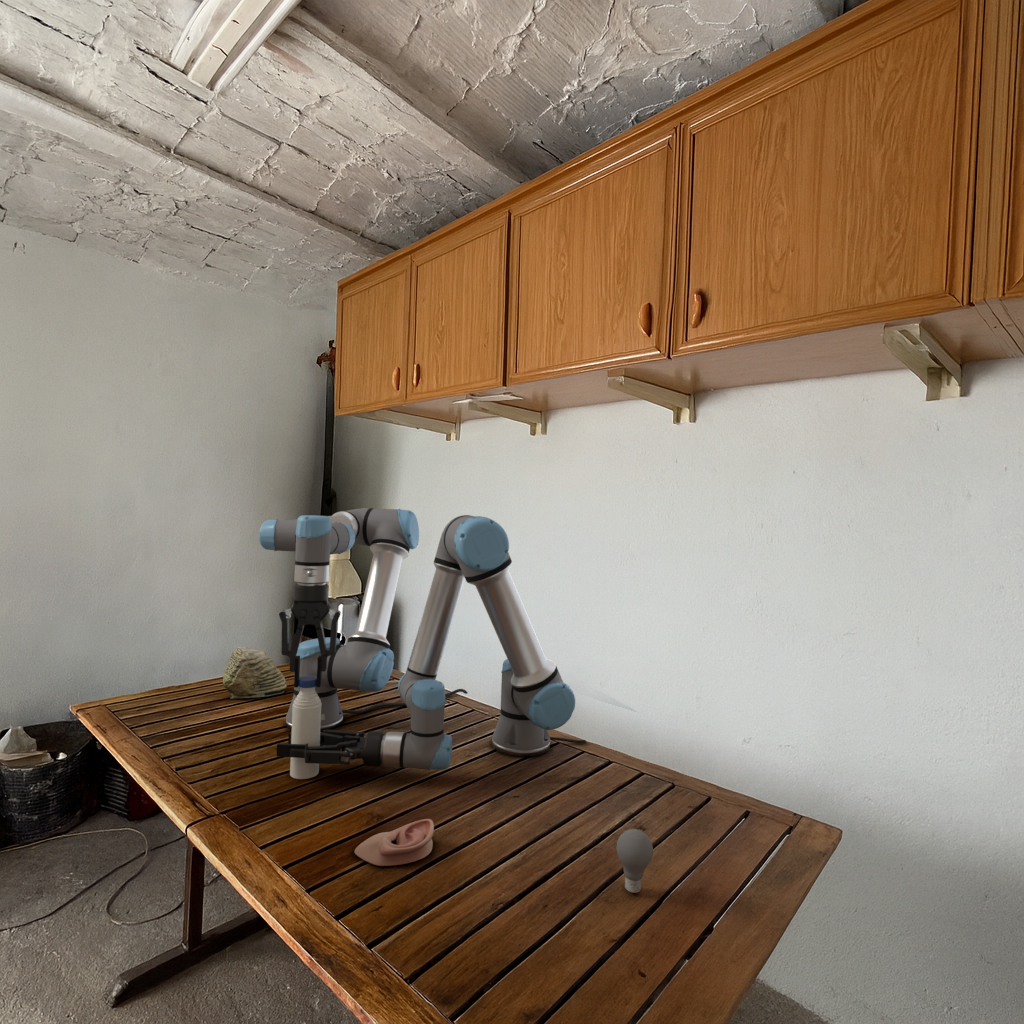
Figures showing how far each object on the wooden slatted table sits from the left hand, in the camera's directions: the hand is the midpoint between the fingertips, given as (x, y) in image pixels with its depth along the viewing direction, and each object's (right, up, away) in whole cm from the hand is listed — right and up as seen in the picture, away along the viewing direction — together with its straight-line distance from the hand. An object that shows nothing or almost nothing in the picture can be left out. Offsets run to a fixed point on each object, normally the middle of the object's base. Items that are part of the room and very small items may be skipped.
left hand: (307, 685), depth 144 cm
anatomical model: (+25, -22, -29) cm, 45 cm away
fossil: (-34, -18, +54) cm, 66 cm away
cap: (0, +1, 0) cm, 1 cm away
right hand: (-6, -13, 0) cm, 15 cm away
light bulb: (+67, -24, -39) cm, 81 cm away
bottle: (-1, -20, 0) cm, 20 cm away
